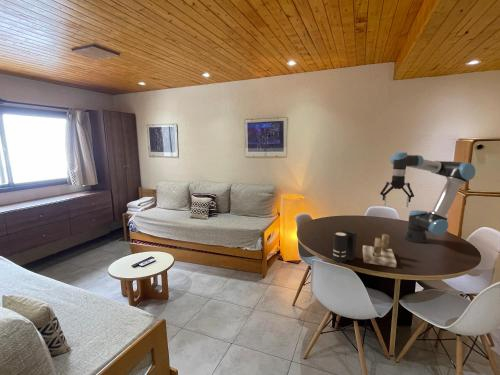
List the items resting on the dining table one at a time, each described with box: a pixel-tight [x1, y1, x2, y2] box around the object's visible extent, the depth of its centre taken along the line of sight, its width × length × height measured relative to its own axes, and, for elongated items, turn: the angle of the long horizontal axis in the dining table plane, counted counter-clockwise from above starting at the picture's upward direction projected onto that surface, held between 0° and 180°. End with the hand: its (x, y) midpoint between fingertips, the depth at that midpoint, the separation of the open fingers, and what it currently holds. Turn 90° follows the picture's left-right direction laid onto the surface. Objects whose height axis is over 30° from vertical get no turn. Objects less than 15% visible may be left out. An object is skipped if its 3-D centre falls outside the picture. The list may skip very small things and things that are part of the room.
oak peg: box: [373, 237, 382, 257], centre depth 163 cm, size 4×4×14 cm
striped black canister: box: [332, 228, 357, 264], centre depth 163 cm, size 10×14×18 cm
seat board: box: [362, 233, 397, 268], centre depth 165 cm, size 18×22×14 cm
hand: (395, 205), depth 175 cm, fingers open, 13 cm apart
